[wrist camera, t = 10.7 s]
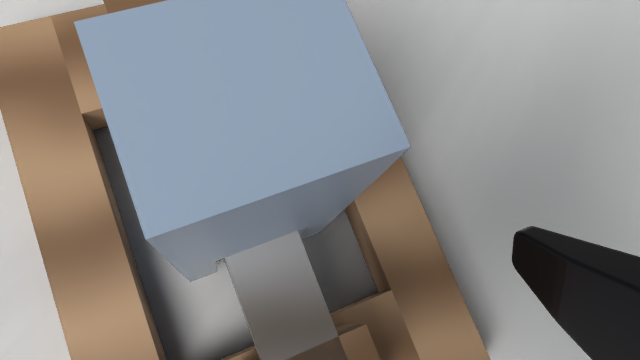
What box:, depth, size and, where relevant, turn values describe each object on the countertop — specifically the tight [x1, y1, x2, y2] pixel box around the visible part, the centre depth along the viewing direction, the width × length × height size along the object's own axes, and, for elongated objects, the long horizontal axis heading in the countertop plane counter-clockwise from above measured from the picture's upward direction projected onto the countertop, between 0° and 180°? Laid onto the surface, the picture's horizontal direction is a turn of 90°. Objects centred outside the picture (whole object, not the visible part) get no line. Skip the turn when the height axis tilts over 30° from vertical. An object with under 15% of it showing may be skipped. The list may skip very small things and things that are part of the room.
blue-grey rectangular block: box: [74, 0, 411, 282], centre depth 17 cm, size 6×5×12 cm
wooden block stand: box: [0, 0, 490, 360], centre depth 21 cm, size 22×16×6 cm
